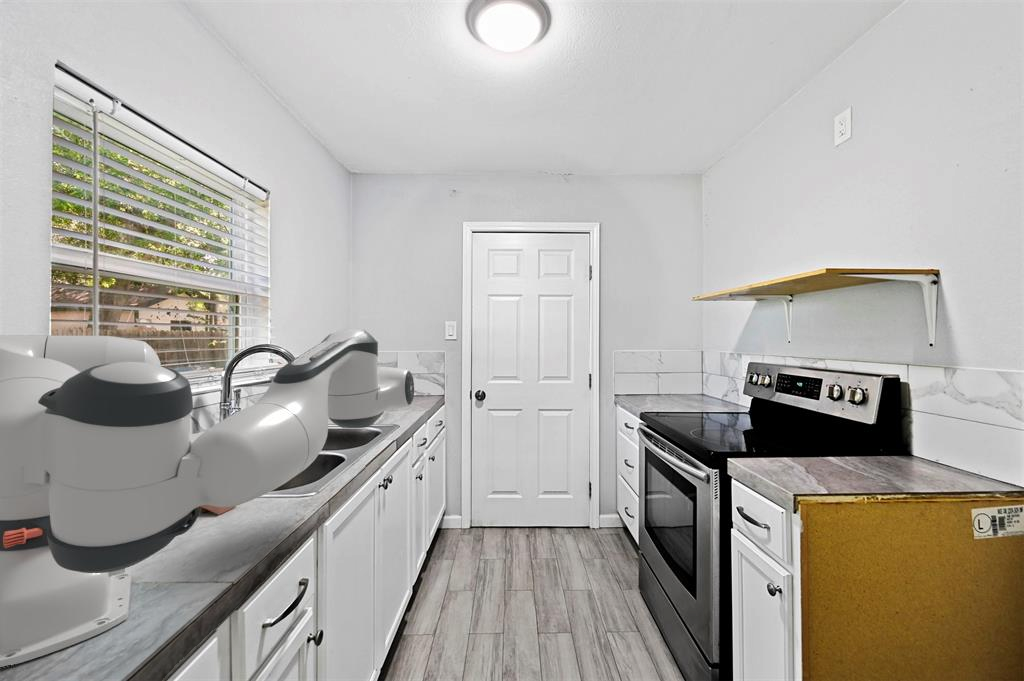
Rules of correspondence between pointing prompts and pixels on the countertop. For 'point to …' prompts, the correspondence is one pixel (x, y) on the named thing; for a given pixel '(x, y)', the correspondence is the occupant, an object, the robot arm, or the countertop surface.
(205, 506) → the end tile
